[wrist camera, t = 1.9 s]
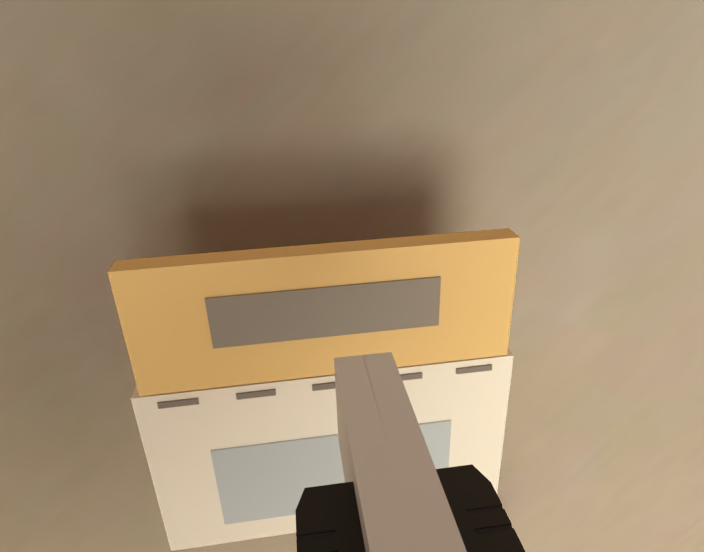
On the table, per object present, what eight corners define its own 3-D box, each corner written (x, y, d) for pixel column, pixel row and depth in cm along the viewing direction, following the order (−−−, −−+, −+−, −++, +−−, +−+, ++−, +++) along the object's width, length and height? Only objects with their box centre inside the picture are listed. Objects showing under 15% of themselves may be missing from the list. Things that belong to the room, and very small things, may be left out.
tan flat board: (145, 380, 23) (138, 397, 22) (115, 260, 21) (106, 273, 20) (496, 341, 25) (508, 356, 24) (508, 228, 23) (521, 237, 22)
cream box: (196, 423, 36) (170, 552, 27) (170, 298, 32) (129, 400, 23) (442, 394, 38) (496, 504, 29) (448, 273, 34) (514, 356, 25)
